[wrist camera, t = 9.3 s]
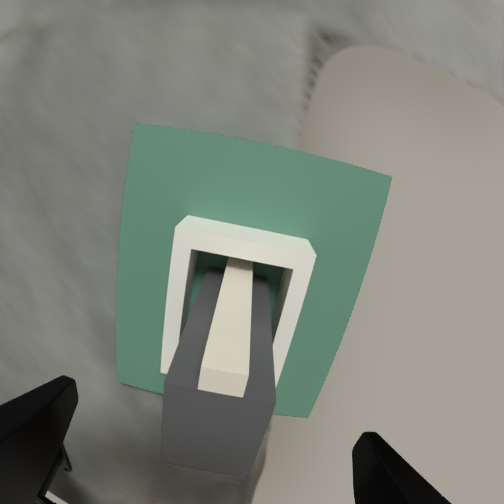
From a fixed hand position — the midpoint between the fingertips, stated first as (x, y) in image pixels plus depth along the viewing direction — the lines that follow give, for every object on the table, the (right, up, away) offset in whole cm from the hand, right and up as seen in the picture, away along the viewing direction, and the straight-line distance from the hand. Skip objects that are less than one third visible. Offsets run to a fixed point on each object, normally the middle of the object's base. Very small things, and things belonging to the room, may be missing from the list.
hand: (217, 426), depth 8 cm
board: (0, +3, +9) cm, 10 cm away
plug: (0, +3, +9) cm, 9 cm away
